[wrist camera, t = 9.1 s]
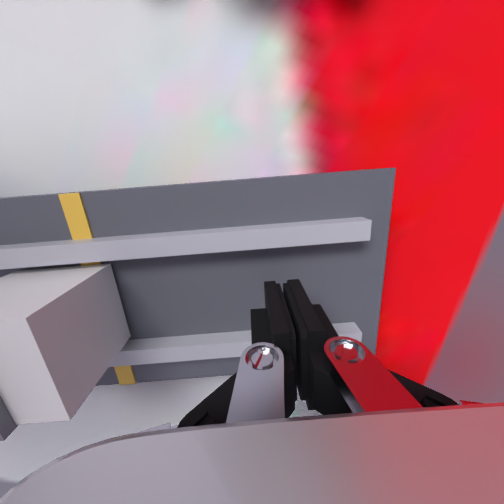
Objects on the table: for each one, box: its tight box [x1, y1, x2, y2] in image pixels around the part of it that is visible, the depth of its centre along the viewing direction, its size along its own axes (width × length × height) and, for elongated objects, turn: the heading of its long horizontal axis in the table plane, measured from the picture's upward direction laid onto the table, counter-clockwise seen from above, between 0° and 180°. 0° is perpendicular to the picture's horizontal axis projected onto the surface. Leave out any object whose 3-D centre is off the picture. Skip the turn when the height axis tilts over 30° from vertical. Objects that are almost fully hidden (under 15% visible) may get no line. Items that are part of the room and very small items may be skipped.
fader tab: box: [0, 264, 131, 441], centre depth 10 cm, size 5×5×6 cm
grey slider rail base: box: [0, 168, 396, 386], centre depth 14 cm, size 12×26×4 cm, turn 94°
